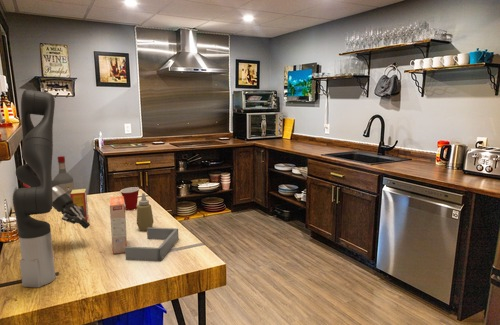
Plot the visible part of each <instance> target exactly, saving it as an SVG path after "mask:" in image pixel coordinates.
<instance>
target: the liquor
mask: <svg viewBox="0 0 500 325" xmlns="http://www.w3.org/2000/svg"><path fill="white" fill-rule="evenodd" d="M57 163H58V173H57V174H56V176H54V178H53V179H52V181H53V182H55V183H56V184H57V185H58V186H59V187H60V188H62V189H63V190H64V191H65V192H66V193H67V194H68V195H69V196H70V197H71V192H72V190H75V188H74V187H75V186H74V185H75V184H74V183H75V182H74V178H73V176H72V175H70V174H69V173H68V172H67V170H66V158H65V155H63V156H61V155H60V156H57Z"/></svg>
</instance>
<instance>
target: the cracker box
mask: <svg viewBox="0 0 500 325" xmlns="http://www.w3.org/2000/svg"><path fill="white" fill-rule="evenodd" d="M109 198H110V199H109V218H110V233H111V246H112V254H113V255H115V254H116V255H117V254H123V253H125V247H126V246H128V240H127V239H128V238H127V220H126V219H127V218H126V217H127V216H126V207H125V202H124V196H122V195H121V196H120V195H119V196H111V197H109Z"/></svg>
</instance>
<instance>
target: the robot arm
mask: <svg viewBox="0 0 500 325" xmlns="http://www.w3.org/2000/svg"><path fill="white" fill-rule="evenodd" d="M20 98H21V99H20V117H21V129H22V130H21V131H22V144H21V145H22V147H21V158H22V159H23V161H25V164H22V165H19V166H18V167H17V168H16V169H15V176H16V178H17V179H18V180H19V181H20V182H22V183H23V184H24V185H26V186H28V187H20V188H16V189H15V190H14V192H13V194H12V205H13V209H14V210H13V211H14V214H15V215H14V216H15V220H16V227H17V231H18V240H19V248H20V257H21V259H20V260H19V267H20V268H19V269H20V276H21V283H22V287H24V288H26V287H27V288H42V287H43V286H45V285H48V284H50V283H51V282H53V281H55V279H56V269H55V258H54V249H53V240H52V230H51V224H50V223H49V222H48V221H45V220H39V219H36V218H34V217H32V216H35V215H43V214H48V213H50V212H51V211H52V208H53V209H54V210H56V212H58V213H61V214H62V215H63V216H62V217H61V220H63V221H66V222H68V223H70V224H73V225H74V224H75V225H76V224H79V225H80V226H81V227H82V228H83V229H85V230H86V229H88V228H89V227H90V226H91V224H90V222H88V220H87V221H86V220H85V219H84V218H85V216H86V214H85V211H84V207H83V206H81V207H78V206H77V205H76V204H74V203H73V199H72V198H71V197H70V196H69V195H68V194H67V193H66V192H65V191H64V190H63V189H62V188H60V187H59V186H58V185H57V184H56V183H55V182H53V179H52V176H53V175H52V169H53V168H52V165H53V149H54V148H53V146H54V144H53V143H54V139H53V136H54V135H53V134H54V133H53V124H54V117H55V105H56V103H55V102H56V99H55V97H54V94H52V93H50V92H46V91H39V90H34V89H24V90H23V92H22V95H21V97H20ZM31 115H33V116H34V115H35V116H43V117H42V118H41V120H40V121H39V123H37V124H36V125H34V124H33V122H32V117H31ZM73 220H74V221H73Z"/></svg>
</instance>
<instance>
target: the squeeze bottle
mask: <svg viewBox="0 0 500 325" xmlns="http://www.w3.org/2000/svg"><path fill="white" fill-rule="evenodd" d="M154 222H155V220H154V216H153V208H152V205H151V203H150V200H149V199H147V196H146V194H145V192H143V193H142V194H141V198H140V200H139V201H138V204H137V208H136V226H137V228H138V230H139V231H143V232H144V231H146V232H147V228H153V224H154Z"/></svg>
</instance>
